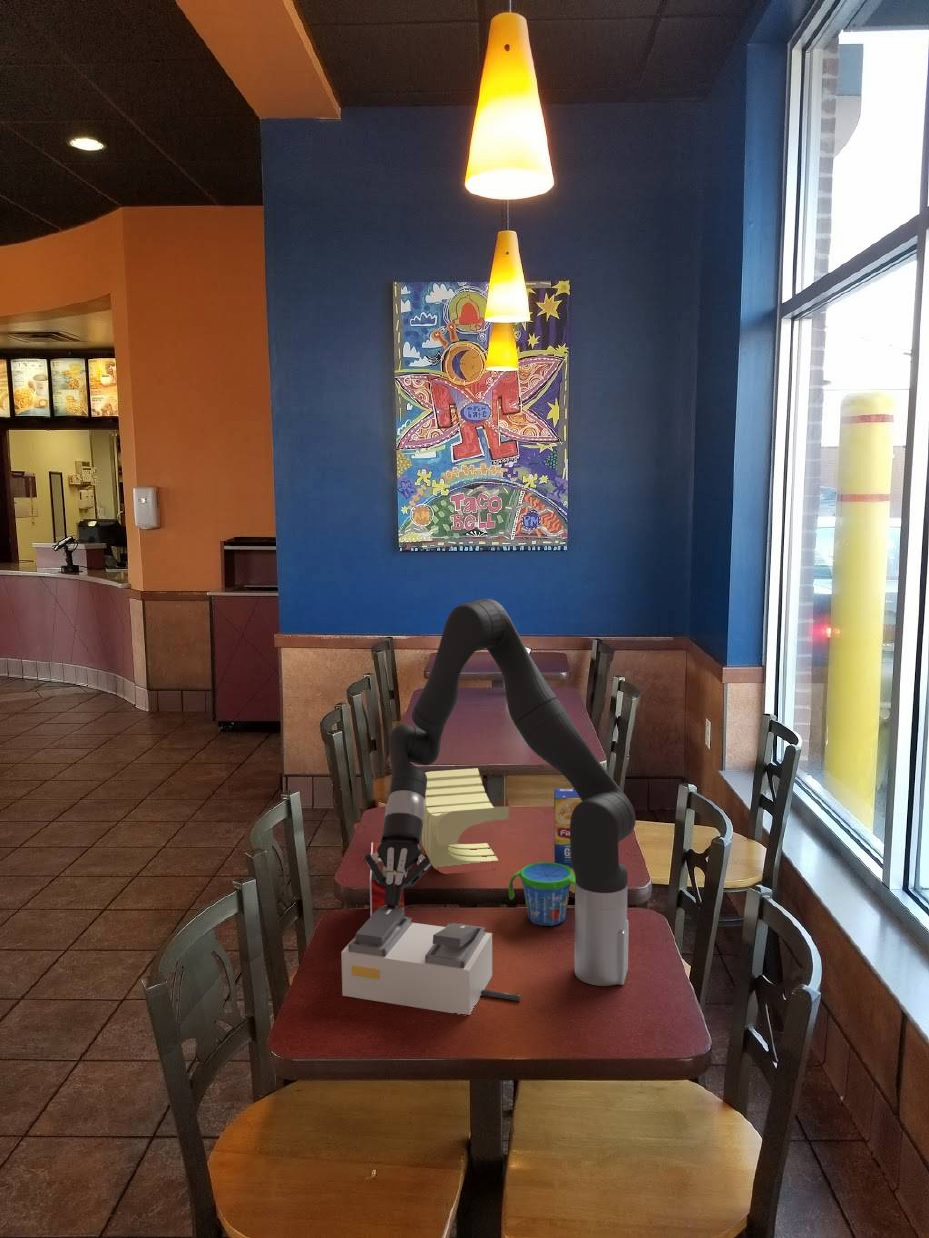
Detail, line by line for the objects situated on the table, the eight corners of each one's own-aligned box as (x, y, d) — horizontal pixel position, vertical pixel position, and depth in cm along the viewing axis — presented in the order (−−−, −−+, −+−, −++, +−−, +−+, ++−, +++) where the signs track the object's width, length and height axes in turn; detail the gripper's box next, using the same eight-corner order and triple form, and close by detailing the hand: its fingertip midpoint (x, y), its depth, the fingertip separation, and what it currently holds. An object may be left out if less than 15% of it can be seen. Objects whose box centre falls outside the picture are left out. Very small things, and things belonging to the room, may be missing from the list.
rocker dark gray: (404, 916, 174) (404, 908, 174) (381, 944, 164) (381, 936, 164) (380, 913, 176) (379, 905, 176) (355, 941, 165) (355, 933, 165)
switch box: (530, 980, 170) (530, 931, 169) (510, 1023, 157) (510, 970, 156) (373, 957, 179) (372, 911, 178) (341, 996, 166) (340, 946, 164)
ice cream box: (372, 902, 203) (371, 842, 202) (402, 901, 204) (401, 841, 202) (371, 947, 184) (369, 880, 182) (404, 945, 184) (403, 879, 182)
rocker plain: (477, 935, 170) (478, 926, 170) (459, 947, 160) (460, 938, 160) (452, 931, 172) (452, 923, 172) (432, 943, 161) (433, 934, 161)
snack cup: (500, 922, 194) (500, 874, 192) (521, 902, 203) (521, 856, 202) (573, 938, 187) (574, 888, 185) (591, 916, 196) (592, 868, 195)
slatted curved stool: (415, 842, 238) (414, 772, 236) (478, 836, 241) (477, 768, 239) (438, 891, 209) (437, 812, 206) (509, 884, 212) (509, 806, 210)
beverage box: (606, 899, 204) (607, 799, 201) (554, 898, 205) (554, 798, 202) (603, 886, 211) (605, 789, 208) (553, 884, 212) (554, 788, 209)
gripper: (367, 809, 183) (352, 897, 173) (435, 812, 181) (424, 901, 171) (373, 826, 189) (359, 912, 179) (440, 829, 187) (429, 916, 177)
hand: (391, 907), depth 175 cm, fingers closed
